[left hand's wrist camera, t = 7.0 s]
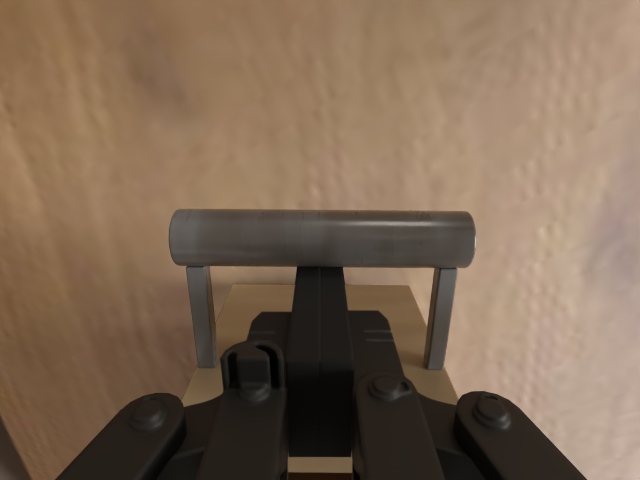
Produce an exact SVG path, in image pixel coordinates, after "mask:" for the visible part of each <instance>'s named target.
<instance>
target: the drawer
mask: <svg viewBox="0 0 640 480" xmlns="http://www.w3.org/2000/svg"><path fill="white" fill-rule="evenodd" d="M169 247H170V253H171V256H172V259H173V261H174V263H175V264H177V265H179V266H187V267H186V272H187V280H188V288H189V296H190V304H191V312H192V320H193V328H194V336H195V344H196V352H197V360H198V364H197V366H196V368H195V371H194V373H193V375H192V378H191V380H190V382H189V384H188V387H187V389H186V391H185V393H184V396H183V398H182V400H181V401H182V403H183V406H184V407H185V406H190V405H194V404H198V403H202V402H205V401H208V400H211V399H213V398H215V397H217V396H219V395H221V394H222V393H223V382H222V373H221V364H220V357H221V356H222V355H223V353H224V352H225V350H227V349H228V348H230V347H231V346H233V345H235V344H237V343H240V342H243V341H246V339H247V336H248V334H249V329H250V326H251V322H252V320H253V319H254V318H255V317H256V316H258V315H259V314H260V313H261V312H292V304H293V296H294V289H295V285H278V284H233V285H232V287H231V289H230V292H229V294H228V296H227V298H226V301H225V303H224V305H223V308H222V310H221V312H220V314H219V317H218V319H217V321H216V323H215V315H214V305H213V295H212V286H211V276H210V266H271V267H388V268H435V269H434V277H433V285H432V293H431V301H430V309H429V317H428V325H426V323H425V321H424V318H423V316H422V314H421V311H420V309H419V307H418V305H417V302H416V300H415V298H414V295H413V293H412V291H411V289H410V286H396V285H345V290H346V297H347V305H348V310H379V311H380V312H381V313H382V314H383V315H384V316H385V317H386V318H387V319H388V321H389V325H390V328H391V333H392V335H393V338H394V342H395V345H396V348H397V352H398V355H399V359H400V362H401V365H402V369H403V372H404V375H405V377H406V378H408V379H409V380H410V381H412V383H413V384H414V386H415V388H416V389H417V392H418V393H420V394H422V395H424V396H426V397H428V398H430V399H434V400H437V401H440V402H445V403H449V404H453V405H457V401H458V400H459V398H458V396H457V394H456V391H455V389H454V387H453V385H452V382H451V380H450V378H449V375H448V373H447V371H446V369H445V366H444V361H445V354H446V347H447V341H448V334H449V327H450V320H451V313H452V307H453V300H454V293H455V286H456V279H457V273H458V270H457V268H466V267H468V266H469V265H470V264H471V263H472V260H473V258H474V254H475V248H476V230H475V224H474V221H473V218H472V216H471V215H470V213H468V212H466V211H379V210H262V209H178V210H176V211H175V212H174V214H173V216H172V219H171V222H170V228H169ZM288 480H352V452H351V457H289V453H288Z"/></svg>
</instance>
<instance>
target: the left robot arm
mask: <svg viewBox="0 0 640 480" xmlns="http://www.w3.org/2000/svg"><path fill="white" fill-rule="evenodd" d="M220 364H221V373H222V382H223V393H222V394H221V395H219V396H217V397H215V398H213V399H211V400H208V401H205V402H202V403H198V404H194V405H190V406H185V407H184V406H183V403H182V401H181V400H180V399H179V398H178V397H177V396H174V395H172V394H169V393H154V394H150V395H145V396H142V397H140V398H138V399H136V400H134V401H132V402H130V403H129V404H128V405H127V406H125V407H124V408H123V409H122V410H120V411H119V413H118V414H117V415H116V416H115V417H114V418H113V419H112V420H111V421H110V422H109V423H108V424H107V425H106V426H105V427H104V428H103V429H102V431H101V432H100V433H99V434H98V435H97V436H96V437H95V438H94V439H93V440H92V441H91V442H90V443H89V444H88V445H87V446H86V448H85V449H84V450H83V451H82V452H81V453H80V454H79V455H78V456H77V457H76V458H75V459H74V460H73V461H72V462H71V463H70V465H69V466H68V467H67V468H66V469H65V470H64V471H63V472H62V473H61V474H60V475H59V476H58V477H57V478H56V479H55V480H288V453H289V457H351V452H352V480H587V479H586V478H585V477H584V476H583V475H582V474H581V473H580V472H579V471H578V470H577V468H576V467H575V466H574V465H573V464H572V463H571V462H570V461H569V460H568V459H567V458H566V457H565V456H564V455H563V454H562V453H561V452H560V451H559V450H558V448H557V447H556V446H555V445H554V444H553V443H552V442H551V441H550V440H549V439H548V438H547V437H546V436H545V435H544V434H543V433H542V432H541V431H540V429H539V428H538V427H537V426H536V425H535V424H534V423H533V422H532V421H531V420H530V419H529V418H528V417H527V416H526V415H525V414H524V413H523V412H522V411H521V409H520V408H518V407H517V406H516V405H515V404H513V403H512V402H511V401H510V400H508V399H506V398H504V397H501V396H499V395H497V394H494V393H489V392H485V391H475V392H469V393H467V394H464V395H462V396H461V398H460V399H459V400H458V401H457V405H453V404H449V403H445V402H440V401H437V400H434V399H430V398H428V397H426V396H424V395H422V394H420V393H418V392H417V389H416V388H415V386H414V384H413V383H412V381H410V380H409V379H408V378H406V377H405V375H404V372H403V369H402V365H401V362H400V359H399V355H398V352H397V348H396V345H395V342H394V338H393V335H392V333H391V328H390V325H389V321H388V319H387V318H386V317H385V316H384V315H383V314H382V313H381V312H380V311H379V310H348V305H347V297H346V290H345V282H344V274H343V267H297V273H296V281H295V289H294V296H293V304H292V312H261V313H260V314H259V315H258V316H256V317H255V318H254V319H253V320H252V322H251V326H250V329H249V334H248V336H247V339H246V341H243V342H240V343H237V344H235V345H233V346H231V347H230V348H228V349H227V350H225V352H224V353H223V355H222V356H221V357H220Z"/></svg>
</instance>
